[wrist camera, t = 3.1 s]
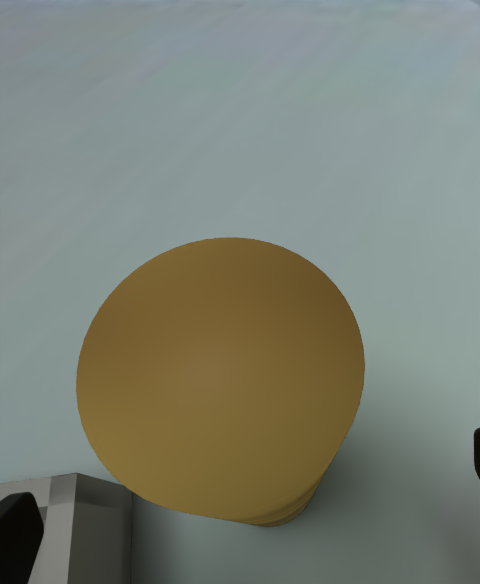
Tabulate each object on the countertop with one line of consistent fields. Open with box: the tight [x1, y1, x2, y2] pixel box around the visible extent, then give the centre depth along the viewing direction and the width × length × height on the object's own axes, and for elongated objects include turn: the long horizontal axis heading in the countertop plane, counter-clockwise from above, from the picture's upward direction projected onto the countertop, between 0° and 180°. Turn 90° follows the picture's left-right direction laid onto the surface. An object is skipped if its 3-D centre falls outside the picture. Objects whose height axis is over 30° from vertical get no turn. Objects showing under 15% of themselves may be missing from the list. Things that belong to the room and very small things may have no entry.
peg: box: [76, 238, 365, 527], centre depth 11 cm, size 4×4×12 cm
